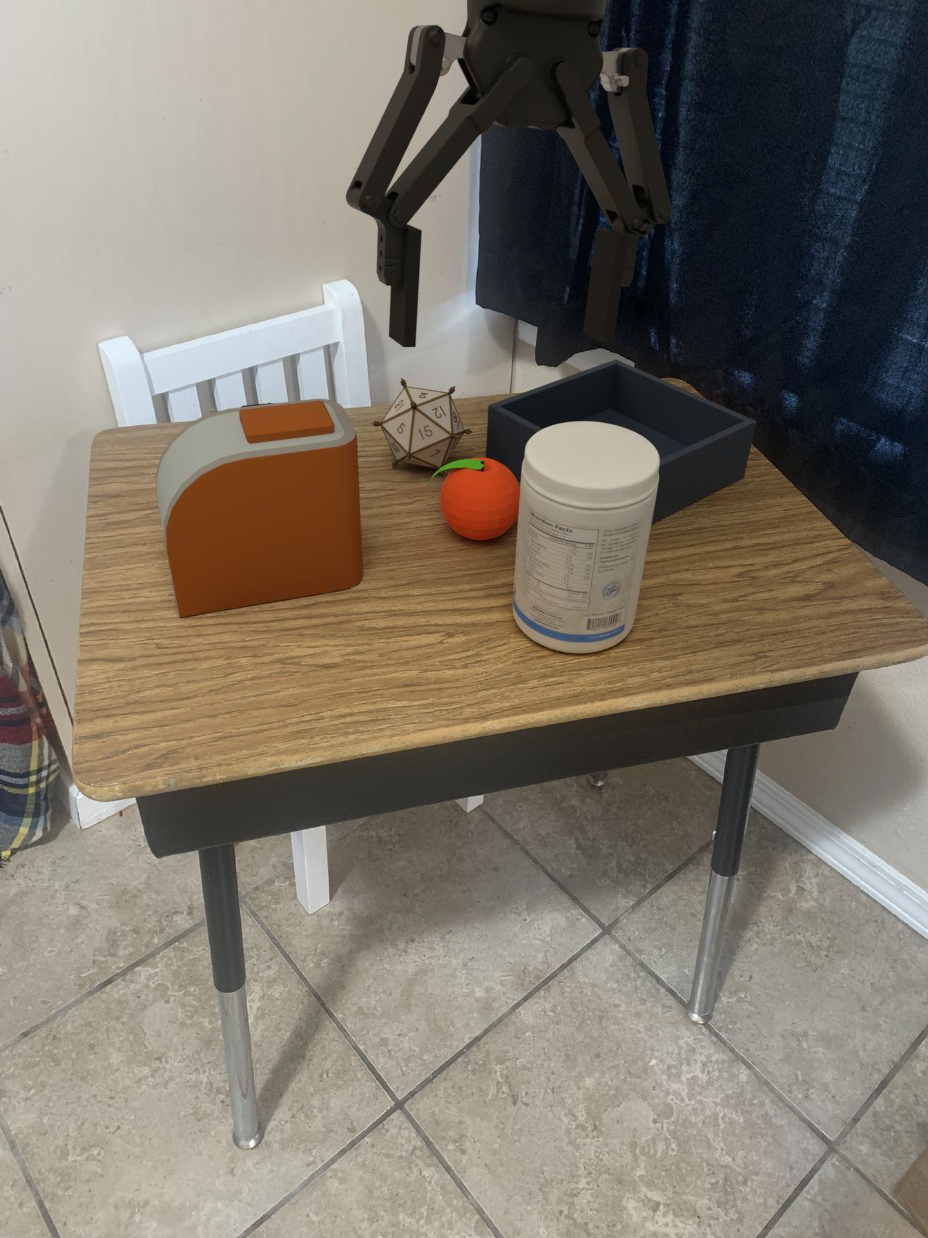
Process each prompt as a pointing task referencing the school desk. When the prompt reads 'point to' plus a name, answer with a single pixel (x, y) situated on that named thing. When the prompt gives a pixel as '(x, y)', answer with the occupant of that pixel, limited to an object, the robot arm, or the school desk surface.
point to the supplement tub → (583, 534)
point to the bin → (633, 428)
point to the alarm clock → (261, 505)
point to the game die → (422, 427)
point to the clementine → (479, 498)
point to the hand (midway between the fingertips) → (503, 340)
